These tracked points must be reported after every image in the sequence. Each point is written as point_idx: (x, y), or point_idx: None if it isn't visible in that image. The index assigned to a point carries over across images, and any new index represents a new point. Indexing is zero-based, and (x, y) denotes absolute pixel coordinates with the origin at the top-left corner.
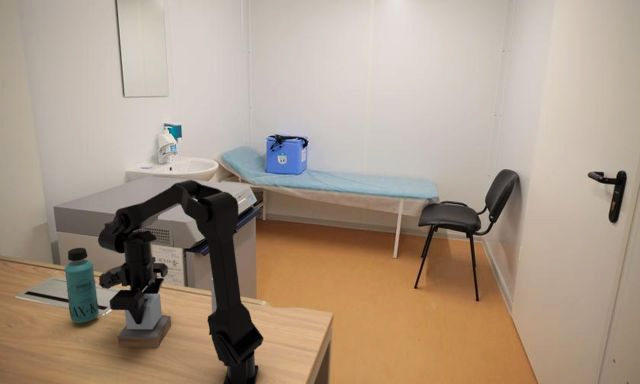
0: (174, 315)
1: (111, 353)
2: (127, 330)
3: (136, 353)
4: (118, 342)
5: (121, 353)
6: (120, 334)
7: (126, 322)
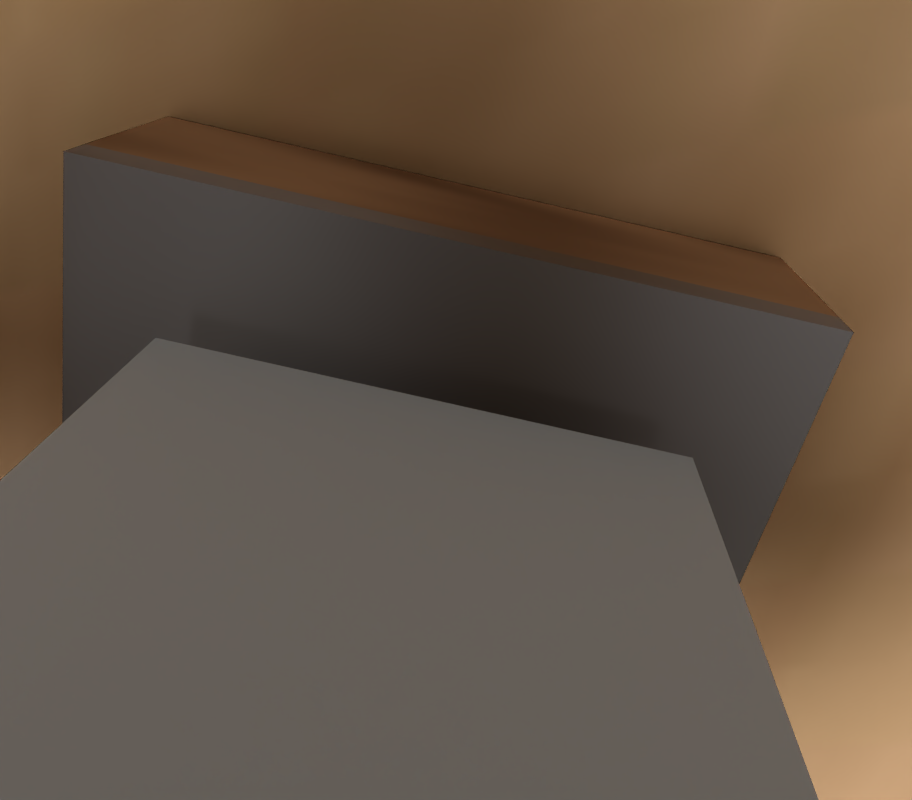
0: (868, 727)
1: (16, 29)
2: (259, 299)
3: (31, 391)
4: (132, 128)
5: (22, 191)
6: (123, 193)
7: (74, 418)
